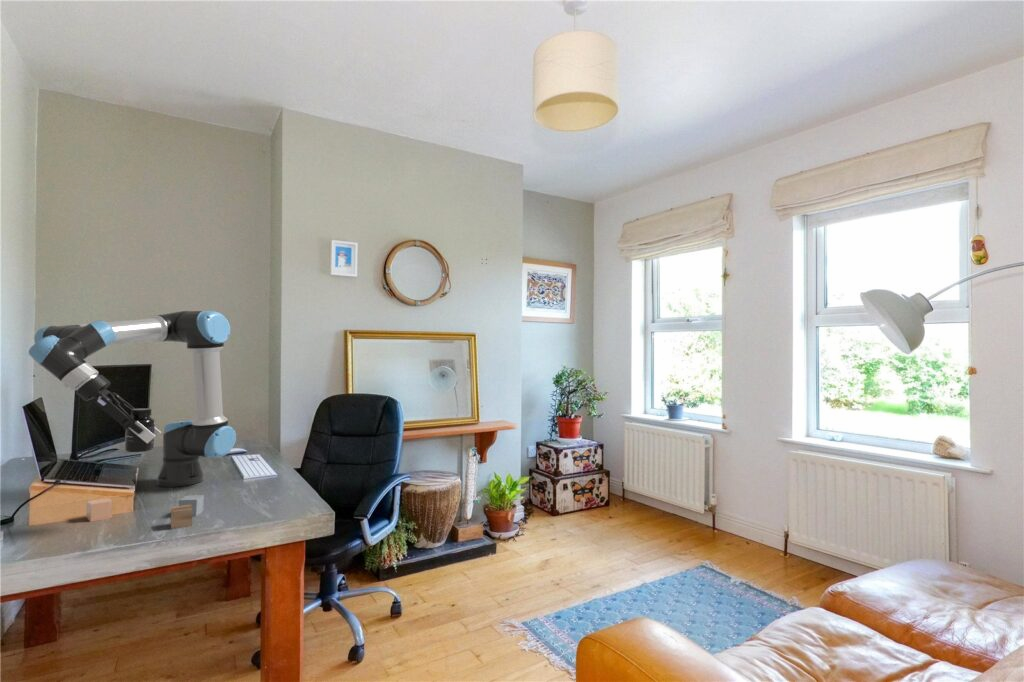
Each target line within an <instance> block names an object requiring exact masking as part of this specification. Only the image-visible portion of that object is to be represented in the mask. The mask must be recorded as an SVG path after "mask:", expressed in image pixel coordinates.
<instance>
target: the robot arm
mask: <svg viewBox="0 0 1024 682" xmlns="http://www.w3.org/2000/svg"><path fill="white" fill-rule="evenodd" d="M230 334H231V325H230V322H229V321H228V319H227V318H226V316H224V315H223V313H221V312H218V311H213V310H183V311H176V312H170V313H163V314H157V315H151V316H150V317H149V318H140V319H131V320H130V319H128V320H127V319H126V320H116V321H103V320H95V321H93V322H89V323H82V324H81V323H80V324H69V325H48V326H44V327H41V328H39V329H38V330H37V331H36V332H35V333H34V337H33V339H34V344H33V345H32V346H31V347H30V348H29V350H28V355H29V356H30V357H31V358H32V359H33V360H34V361H35V362H36V363H37V364H38V365H39V366H41V367H42V368H44V369H46V371H48V372H49V373H50V374H51V375H53V376H54V377H55V378H57V379H58V380H59V381H60V382H61V383H63V387H64V388H69V389H70V390H72V392H73V391H74V392H75V394H76V395H77V396H78V397H80V398H81V399H82V400H83V401H85V402H89V401H91V400H93V399H95V400H96V401H95V402H94V404H95V405H96V406H98V407H99V408H100V409H102V410H103V411H104V412H105V413H106V414H107V415H109V416H110V417H111V418H112V419H113V420H114V421H116V422H117V423H118V424H119V425H120V426H121V427H122V429H123V430H125V431H126V429H127V428H129V429H130V430H131V431H132V432H134V433H135V434H136V435H137V436H139V437H140V438H141V439H142V440H144V441H145V442H146V443H149V442H150V441H151V440H152V439H153V438H154V439H155V438H157V437H158V436H159V435H161V433H162V432H161V430H159V429H158V428H157V427H156V426H155V427H154V434H153V433H152V432H150V431H149V430H148V429H147V428H146V427H144V426H143V425H142V424H141V423H139V422H138V421H135V420H134V419H133V418H132V416H131V410H132V409H136V408H135V407H134V406H133V405H131V403H129V402H128V401H126V400H125V399H124V398H122V397H121V395H119V394H118V392H114V391H112V392H111V391H110V390H108V389H107V388H109V387H110V385H111V381H110V380H109V379H108V378H106V377H105V376H104V375H103V374H99V371H98V370H97V369H95V368H94V367H93V366H92V365H91V364H90V363H89V362H87V361H86V360H85V359H87V358H88V357H90V356H92V355H93V354H95V353H97V352H99V351H100V350H102V349H104V348H106V347H107V346H113V345H120V344H121V345H122V344H130V343H137V342H147V341H153V342H156V343H161V342H174V343H175V342H176V343H177V342H179V343H186V349H187V350H188V351H189V352H191V354H192V371H193V387H194V389H193V390H194V400H195V401H194V403H195V419H189V420H181V421H174V422H168V423H166V424H165V425H164V427H163V428H164V429H163V434H162V435H163V436H162V439H163V441H162V446H163V447H162V448H163V449H162V464H161V467H160V468H159V469H160V470H159V471H158V474H157V476H156V484H155V485H156V486H158V487H162V488H163V487H164V488H166V487H167V488H169V487H170V488H174V487H175V488H176V487H183V486H185V487H186V486H190V485H195V484H200V483H202V482H203V481H204V479H205V473H204V470H203V468H202V464H201V461H200V457H203V458H204V457H205V458H209V459H213V458H223V457H225V456H227V455H228V454H229V453H230V452H231V450H232V449H233V448H234V446H235V443H236V440H237V433H236V430H235V429H234V428H233V427H232V426H230V425H229V419H228V418H227V417H226V416H225V415H224V409H223V408H224V407H223V392H222V391H223V390H222V374H221V373H222V372H221V358H220V357H221V355H220V352H221V350H222V349H223V348H225V346H224V342H225V343H226V341H227V340H228V339H229V337H230Z"/></svg>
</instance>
